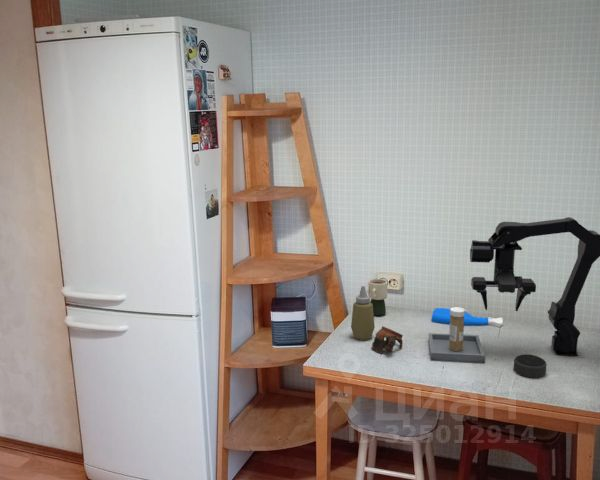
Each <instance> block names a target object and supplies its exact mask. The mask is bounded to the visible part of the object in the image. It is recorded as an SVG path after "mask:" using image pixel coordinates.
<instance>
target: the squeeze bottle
mask: <svg viewBox="0 0 600 480" xmlns="http://www.w3.org/2000/svg"><path fill="white" fill-rule="evenodd" d="M374 316H375V315H374V314H373V304H372V303H371V298H370V297H369V296H368V293H367V291H366V286H363V285H362V286H361V287H360V290H359V295H357V296H355V302H353V306H352V313H351V323H350V328H351V332H352V334H353V337H354V338H355V339H357V340H361V341H363V340H365V341H366V340H370V339H371V338H372V336H373V333H374V332H375V331H374V330H375V326H376V325H375V317H374Z"/></svg>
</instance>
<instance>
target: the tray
mask: <svg viewBox="0 0 600 480" xmlns="http://www.w3.org/2000/svg"><path fill="white" fill-rule="evenodd" d="M449 340H450V339H449V333H437V332H436V333H435V332H433V333H432V332H428V347H429V348H428V349H429V357H430V361H439V362H456V363H470V362H471V363H473V364H485V361H486V354H485V351H484V348H483V346H482V343H481V339H480V336H479V335H478V334H477V335H476V334H475V335H474V334H464V335H463V350H461V351H453V350H450V349H449Z"/></svg>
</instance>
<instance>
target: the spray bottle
mask: <svg viewBox="0 0 600 480" xmlns="http://www.w3.org/2000/svg"><path fill="white" fill-rule="evenodd" d="M450 309H451V308H443V307H435V308H434V309H433V311H432V314H431V322H433V323H437V324H443V323H444V325H450ZM503 321H504V318H503V317H501V316H500V317H497V318H494V317H489V316H488V317H478V316H473V315H471V314H470V313H468V312H467V311H465V316H464V325H465V326H466V327H467V326H468V327H469V326H470V327H471V326H487V325H488V326H491V325H492V326H495V327H498V328H500V327H502V326H503V323H504V322H503ZM465 326H464V327H465Z"/></svg>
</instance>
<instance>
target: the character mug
mask: <svg viewBox="0 0 600 480" xmlns="http://www.w3.org/2000/svg"><path fill="white" fill-rule="evenodd" d="M388 284H389V283H388V280H386V279H383V278H371V279H369V280H368V287H367V289H368V292H367V296H369V297H370V302H371V303H372V304H373V314H374V316H384V315H385V314H387V310H386V301H385V300H386V299H388Z"/></svg>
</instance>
